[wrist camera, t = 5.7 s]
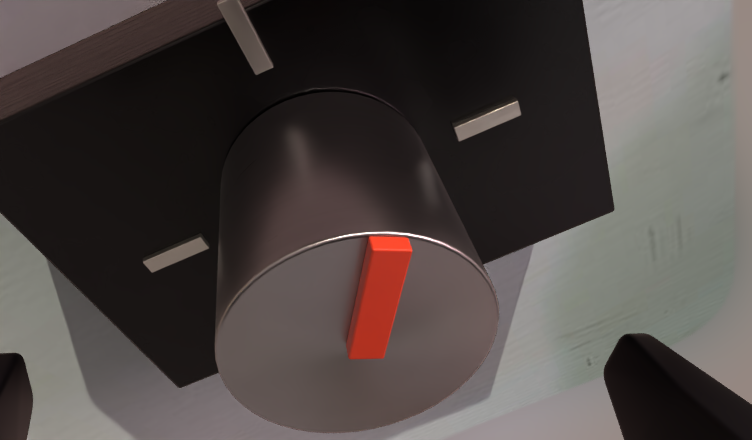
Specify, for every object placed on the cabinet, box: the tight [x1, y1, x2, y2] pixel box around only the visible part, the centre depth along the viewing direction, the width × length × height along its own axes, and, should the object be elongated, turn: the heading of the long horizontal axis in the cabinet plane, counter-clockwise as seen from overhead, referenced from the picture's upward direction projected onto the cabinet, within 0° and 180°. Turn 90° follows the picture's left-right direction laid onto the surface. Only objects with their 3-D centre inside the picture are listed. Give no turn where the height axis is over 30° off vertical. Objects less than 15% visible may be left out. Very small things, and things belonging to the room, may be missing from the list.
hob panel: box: [0, 0, 614, 388], centre depth 14 cm, size 12×9×3 cm
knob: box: [215, 92, 499, 433], centre depth 11 cm, size 4×4×5 cm
